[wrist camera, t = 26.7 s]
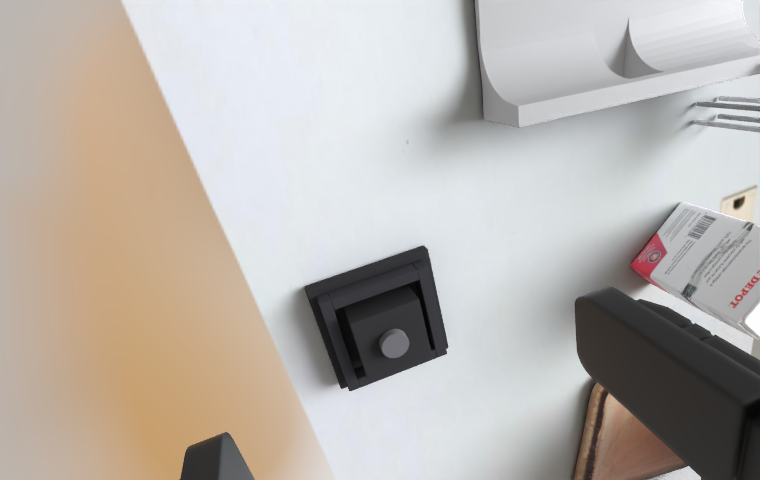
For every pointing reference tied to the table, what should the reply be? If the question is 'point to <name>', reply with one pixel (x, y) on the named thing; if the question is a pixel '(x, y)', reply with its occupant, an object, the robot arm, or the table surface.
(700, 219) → the ink box
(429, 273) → the base pad
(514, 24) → the white notched trough tray
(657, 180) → the table surface
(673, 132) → the table surface
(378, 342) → the dark block with knob
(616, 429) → the case
